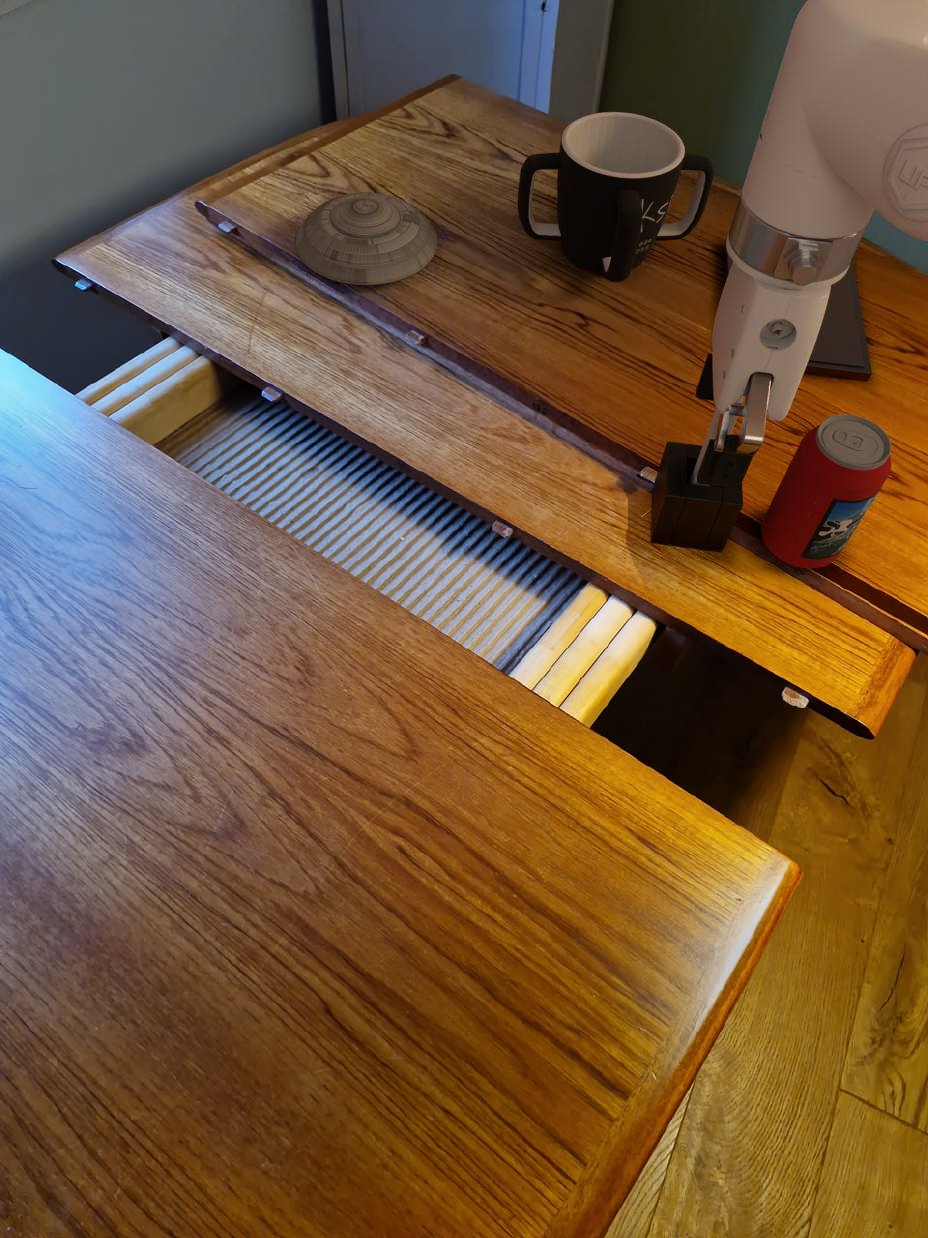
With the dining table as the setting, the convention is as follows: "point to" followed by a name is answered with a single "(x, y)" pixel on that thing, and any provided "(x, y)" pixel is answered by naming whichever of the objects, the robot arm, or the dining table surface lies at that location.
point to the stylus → (711, 435)
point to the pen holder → (690, 504)
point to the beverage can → (827, 490)
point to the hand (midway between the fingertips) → (716, 438)
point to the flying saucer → (366, 239)
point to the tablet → (838, 333)
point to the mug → (614, 191)
